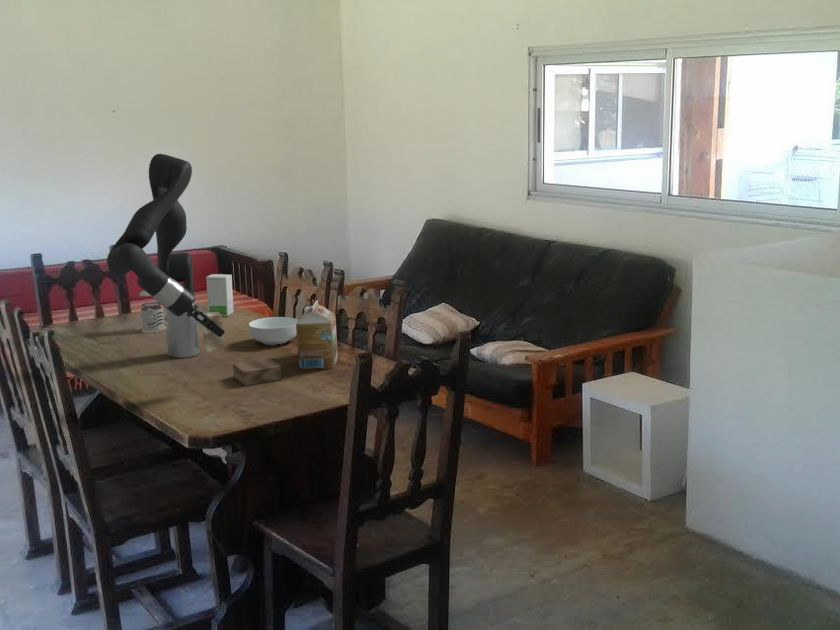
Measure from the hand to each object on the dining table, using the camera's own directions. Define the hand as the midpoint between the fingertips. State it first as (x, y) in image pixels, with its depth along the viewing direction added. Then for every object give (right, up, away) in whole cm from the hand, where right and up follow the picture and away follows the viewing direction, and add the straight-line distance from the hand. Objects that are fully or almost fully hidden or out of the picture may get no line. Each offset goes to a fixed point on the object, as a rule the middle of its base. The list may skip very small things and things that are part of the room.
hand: (219, 332), depth 265 cm
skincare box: (-20, +5, +98) cm, 100 cm away
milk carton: (+25, -10, +23) cm, 36 cm away
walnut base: (+9, -14, +11) cm, 19 cm away
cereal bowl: (+8, -5, +52) cm, 53 cm away
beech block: (-2, -5, 0) cm, 5 cm away
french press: (-40, -1, +78) cm, 87 cm away
